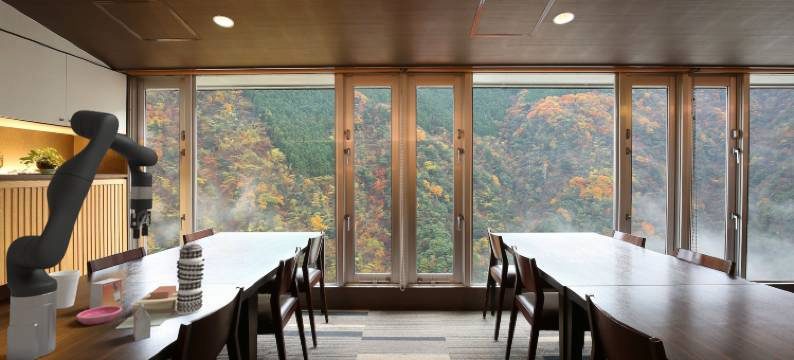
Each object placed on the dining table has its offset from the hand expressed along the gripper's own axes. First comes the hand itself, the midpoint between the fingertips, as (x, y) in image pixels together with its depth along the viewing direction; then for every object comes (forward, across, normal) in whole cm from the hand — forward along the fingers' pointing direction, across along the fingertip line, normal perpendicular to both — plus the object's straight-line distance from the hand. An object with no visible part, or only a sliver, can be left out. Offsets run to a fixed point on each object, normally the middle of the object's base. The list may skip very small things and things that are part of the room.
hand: (140, 237), depth 146 cm
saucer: (+27, -19, +5) cm, 33 cm away
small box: (+27, -6, +9) cm, 29 cm away
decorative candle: (+27, -17, -23) cm, 39 cm away
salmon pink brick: (+22, -8, -11) cm, 26 cm away
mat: (+26, -25, -11) cm, 38 cm away
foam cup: (+26, 0, +26) cm, 37 cm away
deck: (+26, -11, -11) cm, 30 cm away
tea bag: (+26, -39, -14) cm, 49 cm away
